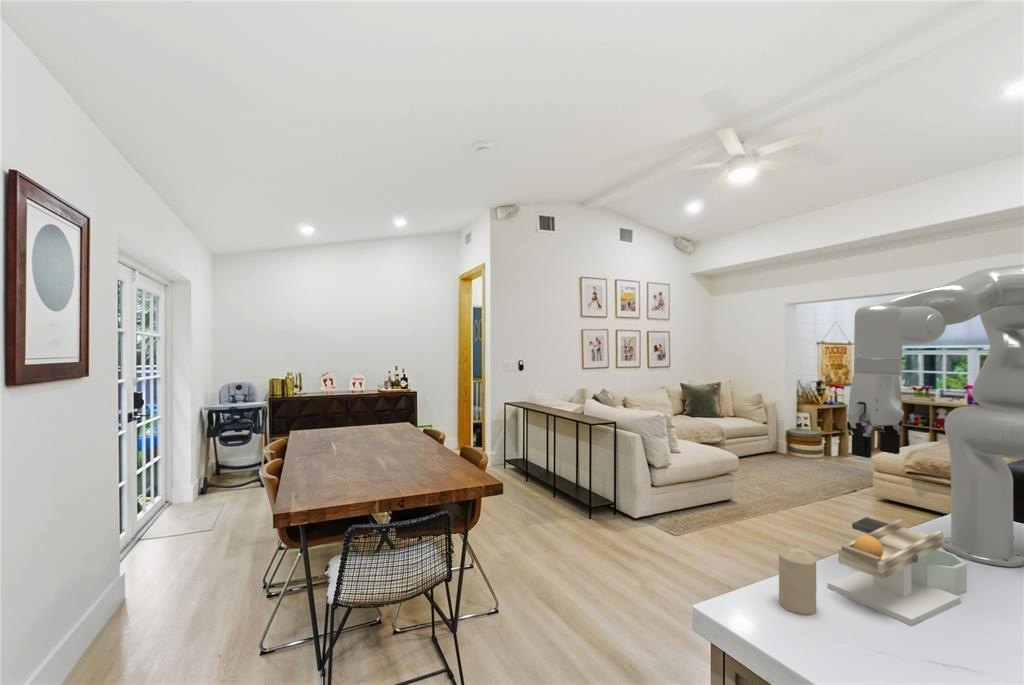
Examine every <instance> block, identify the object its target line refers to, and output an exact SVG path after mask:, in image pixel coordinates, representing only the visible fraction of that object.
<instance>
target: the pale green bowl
mask: <svg viewBox="0 0 1024 685" xmlns="http://www.w3.org/2000/svg"><path fill="white" fill-rule="evenodd" d="M967 565H968V564H967V562H965V561H964V560H963V559H961V557H960V556H958V555H956V554H954V553H951V552H950V551H947V550H942V549H940V548H938V549H936V550H935V551H933V552H931V553H929V554H927V555H926V556H924V557H922V558H920V559H919V560H918V561H917V563H914V562H913V563H912V564H911V581H913V582H915V583H918V584H921V585H923V586H927V587H933V588H938V589H941V590H943V591H946V592H949V593H951V594H954V595H957V596H959V595H961V594H964V593H966V592H967V591H968V590H967V588H968V582H967V581H968V579H967V578H968V577H967V576H968V575H967V574H968V573H967V572H968V570H967Z"/></svg>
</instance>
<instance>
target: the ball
mask: <svg viewBox="0 0 1024 685" xmlns="http://www.w3.org/2000/svg"><path fill="white" fill-rule="evenodd" d="M854 540H855V549H858V550H861V551H864V552H866V553H869V554H872V555H875V556H878V557H880V558H881V556H882V555H883V546H882V544H881V543H880V542H879V541H878V540H877V539H876V538H874V537H872V536H869V535H867V534H864V535H859V536H858V537H856V539H854Z"/></svg>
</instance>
